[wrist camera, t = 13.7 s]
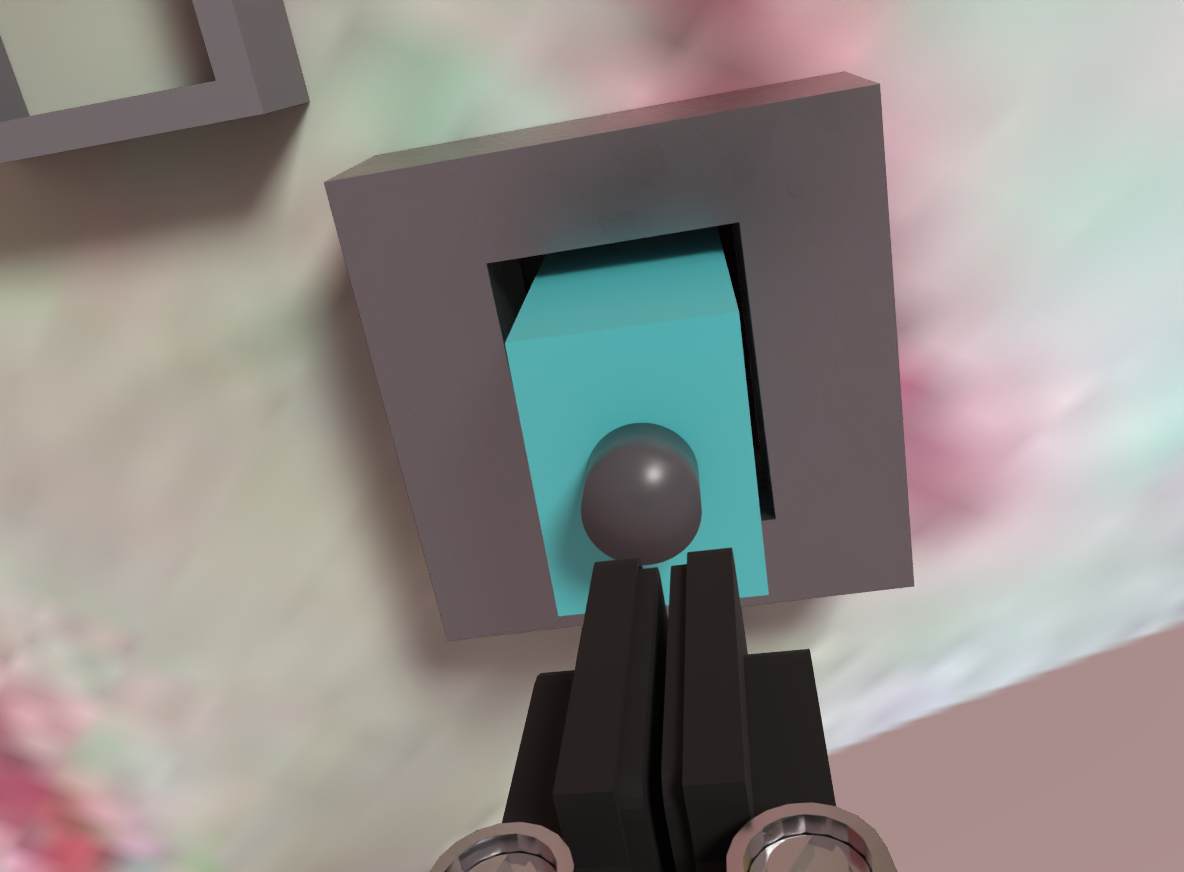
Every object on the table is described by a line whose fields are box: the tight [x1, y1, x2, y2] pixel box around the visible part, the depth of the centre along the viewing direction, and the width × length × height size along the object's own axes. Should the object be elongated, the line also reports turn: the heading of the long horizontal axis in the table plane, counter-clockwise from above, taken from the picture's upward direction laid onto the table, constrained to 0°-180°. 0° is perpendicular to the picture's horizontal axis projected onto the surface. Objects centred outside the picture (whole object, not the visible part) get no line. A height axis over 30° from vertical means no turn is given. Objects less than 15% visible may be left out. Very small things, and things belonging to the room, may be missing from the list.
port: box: [324, 72, 914, 641], centre depth 24 cm, size 11×11×4 cm
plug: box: [505, 226, 769, 616], centre depth 21 cm, size 4×6×10 cm
